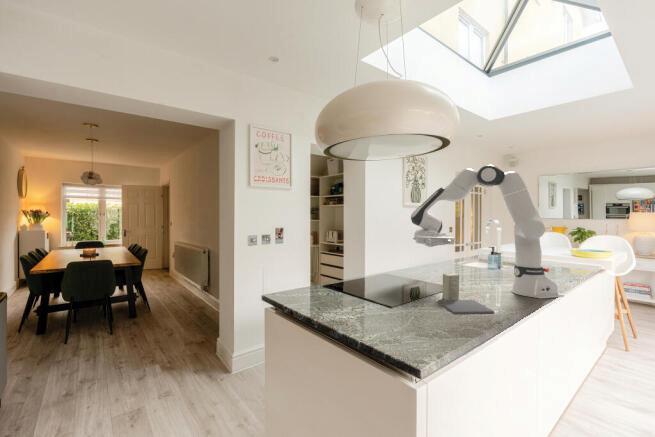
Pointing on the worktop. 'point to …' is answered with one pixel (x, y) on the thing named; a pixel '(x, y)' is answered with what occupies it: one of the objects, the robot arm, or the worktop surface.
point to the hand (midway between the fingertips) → (440, 241)
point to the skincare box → (451, 286)
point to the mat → (464, 307)
